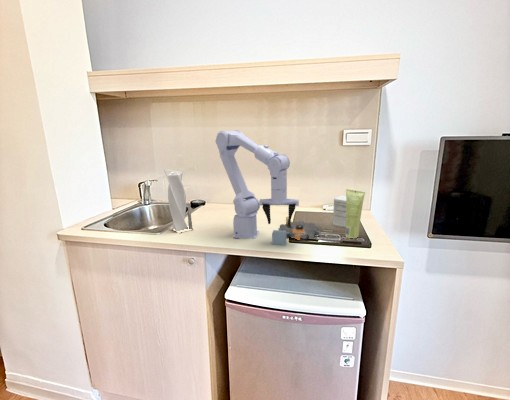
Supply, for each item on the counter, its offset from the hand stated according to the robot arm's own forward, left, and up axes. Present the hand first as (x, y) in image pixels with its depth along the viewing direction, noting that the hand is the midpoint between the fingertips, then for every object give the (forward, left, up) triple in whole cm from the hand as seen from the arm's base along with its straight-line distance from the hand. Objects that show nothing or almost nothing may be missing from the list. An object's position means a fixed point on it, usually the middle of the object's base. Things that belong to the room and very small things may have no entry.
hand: (279, 223), depth 106 cm
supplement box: (+26, +25, -9) cm, 37 cm away
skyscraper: (-46, +9, -9) cm, 48 cm away
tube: (+28, +10, -9) cm, 31 cm away
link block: (0, 0, -8) cm, 8 cm away
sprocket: (+7, +12, -8) cm, 16 cm away
